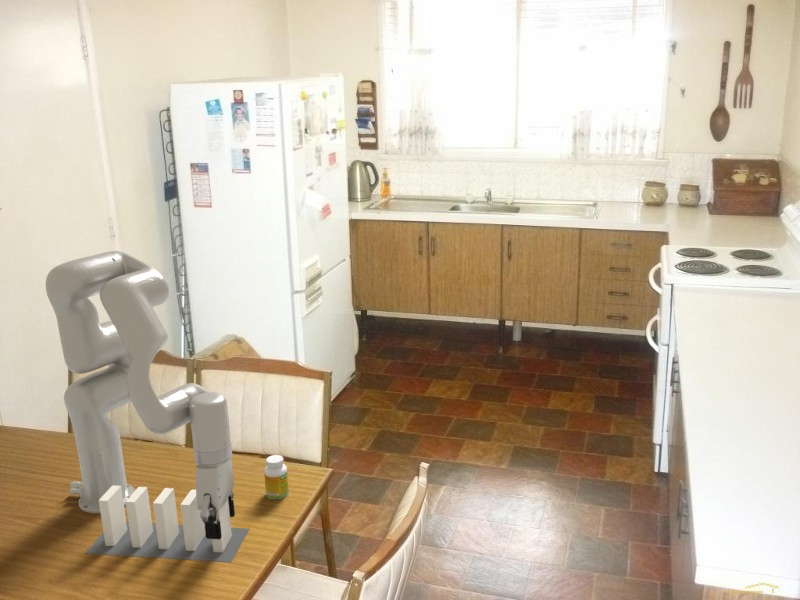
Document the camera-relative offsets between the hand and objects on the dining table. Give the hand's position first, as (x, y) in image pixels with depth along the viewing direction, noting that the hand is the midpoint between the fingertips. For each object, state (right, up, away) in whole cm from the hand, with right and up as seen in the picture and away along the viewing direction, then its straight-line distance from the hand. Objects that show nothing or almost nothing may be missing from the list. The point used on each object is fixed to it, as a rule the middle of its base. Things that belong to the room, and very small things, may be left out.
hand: (220, 526), depth 161 cm
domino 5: (0, -4, +1) cm, 4 cm away
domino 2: (-18, -4, +4) cm, 18 cm away
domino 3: (-12, -4, +3) cm, 13 cm away
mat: (-12, -4, +3) cm, 13 cm away
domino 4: (-6, -4, +2) cm, 7 cm away
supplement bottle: (+9, +1, +21) cm, 22 cm away
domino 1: (-24, -4, +4) cm, 24 cm away
